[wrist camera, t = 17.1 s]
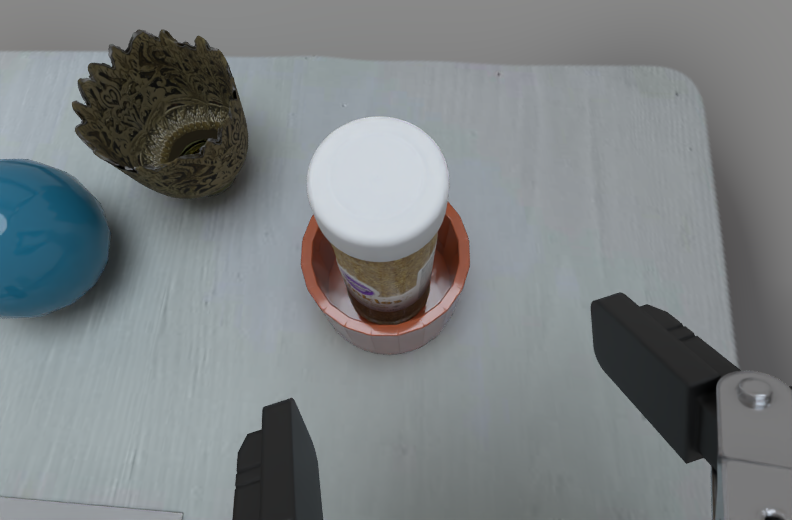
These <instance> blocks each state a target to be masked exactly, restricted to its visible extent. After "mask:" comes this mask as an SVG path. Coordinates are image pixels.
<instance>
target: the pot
mask: <svg viewBox="0 0 792 520" xmlns="http://www.w3.org/2000/svg"><path fill="white" fill-rule="evenodd" d="M468 239H469V238H468V236H467V233H466V230H465V228H464V225H463V223H462V220H461V217H460V216H459V214H458V213H457V212H456V211H455V209H454V208H453V207H452V206H451V205H450V203H449V202H448V203H447V208H446V213H445V216H444V219H443V222H442V224H441V226H440V228H439V230H438V235H437V244H436V249H435V255H434V261H433V268H432V274H431V279H430V292H429V295H428V298H427V302H426V304H425V305H424V306H423V308H422V309H421V310H420V311H419V313H418V314H417V315H415V316H414V317H412V318H411V319H410V320H408V321H406V322H403V323H400V324H397V325H380V324H376V323H373V322H370V321H368V320H367V319H366V318H364V317H362V316H361V315H360V314H359V313H358V311H357V310H356V309H355V308H354V306H353V305H352V303H351V300H350V298H349V296H348V292H347V287H346V285H345V283H344V280H343V277H342V275H341V272H340V269H339V267H338V264H337V260H336V255H335V252H334V249H333V247H332V245H331V243H330V242H329V240H328V239H327V238H326V237H325V236H324V234H323V233H322V231H321V230H320V228H319V226H318V224H317V222H316V219H315V217H314V214H313V216H312V217H311V219H310V222H309V224H308V227H307V229H306V232H305V234H304V237H303V241H302V252H301V268H302V272H303V275H304V279H305V283H306V286H307V289H308V291H309V293H310V294H311V296H312V297H313V298H314V300H315V301H316V303H317V304H318V306H319V307H320V309H321V310H322V311H323V313H324V314H325V316H326V317H327V319H328V320H329V321H330V323H331V324H332V326H333V327H334V329H335V330H336V331H337V332H338V334H340V335H341V336H342V337H343V338H344V339H346V340H347V341H348V342H350V343H351V344H353V345H355V346H356V347H358V348H361V349H363V350H365V351H369V352H372V353H377V354H392V355H393V354H401V353H405V352H409V351H412V350H415V349H417V348H420V347H421V346H423V345H425V344H427V343H428V342H430V341H431V340H432V339H434V338H435V337H436V336H437V335H438V334H439V333H440V332H441V331H442V329H443V328H444V327H445V326H446V324H447V323H448V321H449V319H450V318H451V316H452V315H453V312H454V310H455V307H456V305H457V302H458V300H459V297H460V295H461V292H462V290H463V287H464V283H465V280H466V277H467V273H468V270H469V267H470V251H469V240H468Z"/></svg>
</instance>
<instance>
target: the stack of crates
mask: <svg viewBox="0 0 792 520" xmlns="http://www.w3.org/2000/svg"><path fill="white" fill-rule="evenodd" d="M182 515H183V513H175V512H164V511H153V510H142V509H131V508H119V507H108V506H97V505H86V504H75V503H63V502H52V501H41V500H30V499H18V498H7V497H0V520H182Z"/></svg>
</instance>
